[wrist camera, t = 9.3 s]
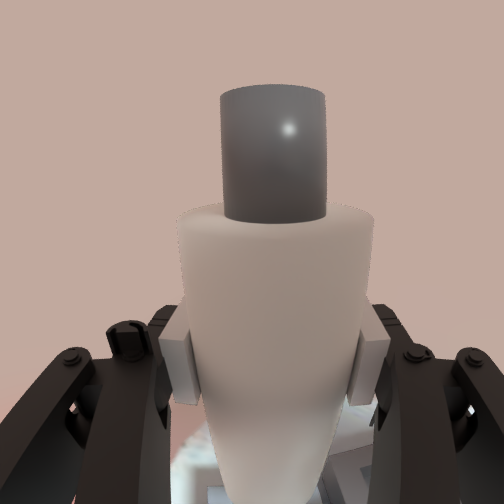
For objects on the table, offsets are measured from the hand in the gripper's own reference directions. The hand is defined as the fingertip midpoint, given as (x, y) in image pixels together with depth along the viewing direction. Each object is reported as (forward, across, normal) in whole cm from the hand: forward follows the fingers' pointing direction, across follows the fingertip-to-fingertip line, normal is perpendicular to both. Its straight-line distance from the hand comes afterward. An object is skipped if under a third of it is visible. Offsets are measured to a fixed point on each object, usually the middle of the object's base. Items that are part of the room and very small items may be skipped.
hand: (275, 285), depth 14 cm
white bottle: (-5, 0, -10) cm, 11 cm away
